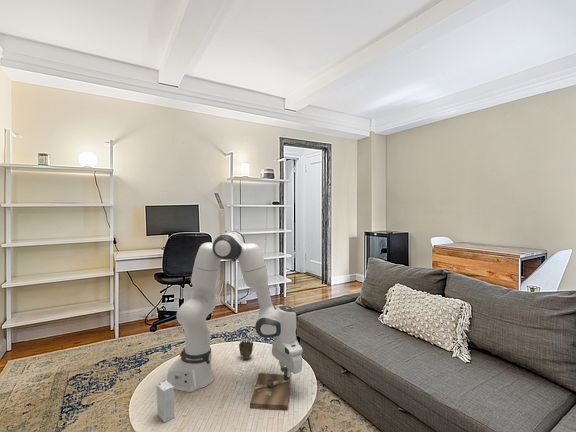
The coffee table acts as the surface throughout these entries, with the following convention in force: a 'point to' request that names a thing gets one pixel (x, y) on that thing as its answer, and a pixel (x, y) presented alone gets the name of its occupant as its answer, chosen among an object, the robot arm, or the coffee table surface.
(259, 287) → the robot arm
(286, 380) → the tuning crank
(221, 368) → the coffee table surface
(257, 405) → the board
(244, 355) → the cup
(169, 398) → the skincare box
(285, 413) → the coffee table surface
